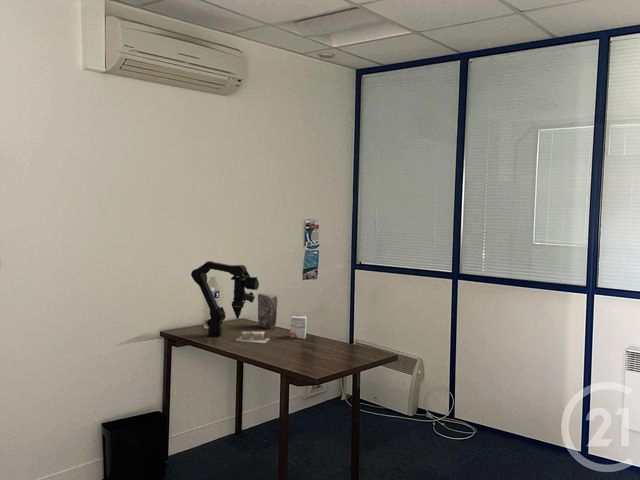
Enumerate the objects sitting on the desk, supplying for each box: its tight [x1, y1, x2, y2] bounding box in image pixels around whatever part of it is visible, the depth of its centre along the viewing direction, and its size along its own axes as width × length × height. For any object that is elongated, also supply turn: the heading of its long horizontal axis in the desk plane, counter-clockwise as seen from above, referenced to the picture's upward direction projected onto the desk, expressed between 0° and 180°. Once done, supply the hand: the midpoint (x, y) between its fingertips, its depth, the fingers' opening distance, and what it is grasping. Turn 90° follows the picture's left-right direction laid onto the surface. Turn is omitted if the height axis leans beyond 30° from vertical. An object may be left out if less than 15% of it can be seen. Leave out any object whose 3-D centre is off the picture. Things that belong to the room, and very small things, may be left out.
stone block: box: [257, 292, 278, 330], centre depth 367 cm, size 13×7×20 cm, turn 44°
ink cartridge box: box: [289, 309, 307, 340], centre depth 344 cm, size 9×5×15 cm, turn 84°
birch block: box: [240, 331, 267, 340], centre depth 334 cm, size 4×5×13 cm
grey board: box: [235, 336, 271, 344], centre depth 334 cm, size 16×10×1 cm, turn 77°
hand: (238, 316), depth 336 cm, fingers open, 9 cm apart
